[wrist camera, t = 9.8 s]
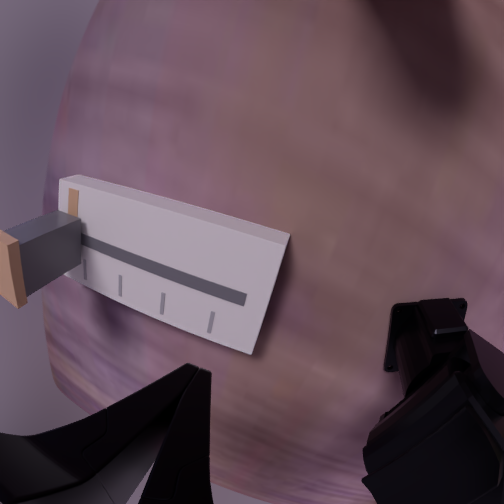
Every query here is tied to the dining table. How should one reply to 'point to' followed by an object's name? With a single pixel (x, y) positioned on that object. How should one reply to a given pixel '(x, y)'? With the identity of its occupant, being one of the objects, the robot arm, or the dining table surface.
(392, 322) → the robot arm
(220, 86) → the dining table surface
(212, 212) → the dimmer panel
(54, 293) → the dining table surface
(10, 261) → the slider handle
